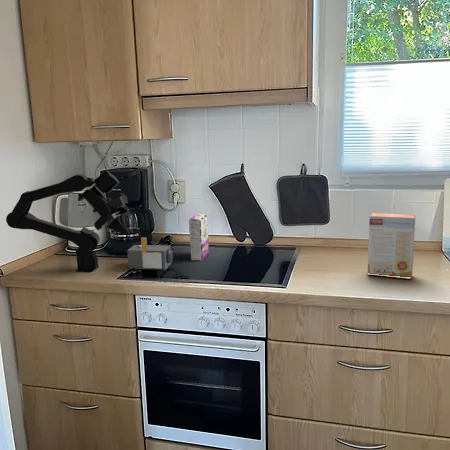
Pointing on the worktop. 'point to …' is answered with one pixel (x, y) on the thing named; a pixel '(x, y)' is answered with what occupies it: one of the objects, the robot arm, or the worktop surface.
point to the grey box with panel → (136, 251)
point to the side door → (150, 256)
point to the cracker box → (391, 244)
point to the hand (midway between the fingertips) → (128, 234)
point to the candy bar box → (199, 237)
